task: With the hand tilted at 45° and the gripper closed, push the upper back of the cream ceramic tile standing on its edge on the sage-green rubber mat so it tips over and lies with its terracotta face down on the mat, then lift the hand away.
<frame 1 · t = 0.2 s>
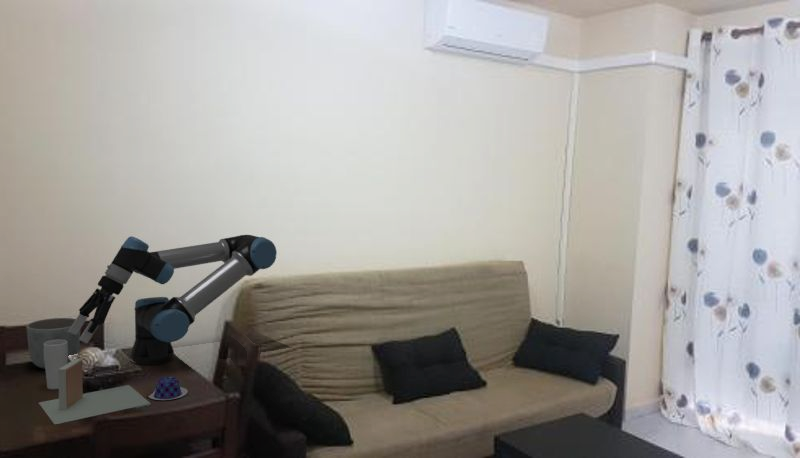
hand: (77, 337, 203), 16 cm above the table, tool tilted 35°, fingers open, 13 cm apart
planter: (55, 365, 223), on the table
rubber mat: (94, 404, 188), on the table
ceramic tile: (71, 403, 188), point 1 cm above the table, touching rubber mat
drinking glass: (56, 388, 201), on the table
pudding: (167, 395, 199), on the table
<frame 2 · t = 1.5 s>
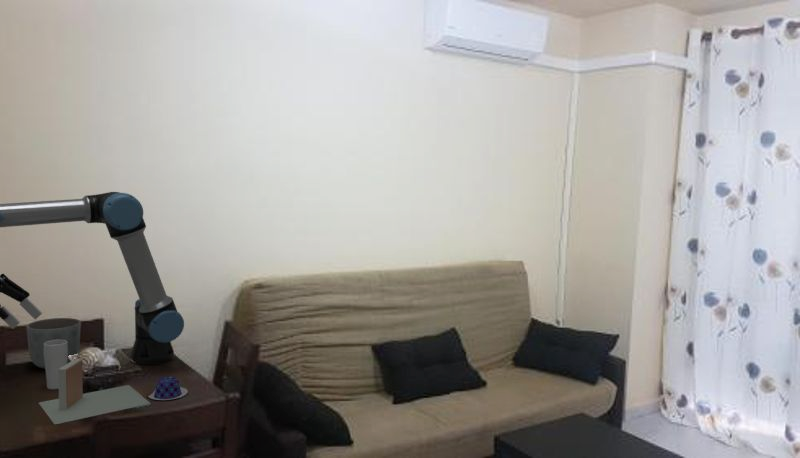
hand: (28, 320, 185), 25 cm above the table, tool tilted 45°, fingers open, 11 cm apart
nothing on the table moved.
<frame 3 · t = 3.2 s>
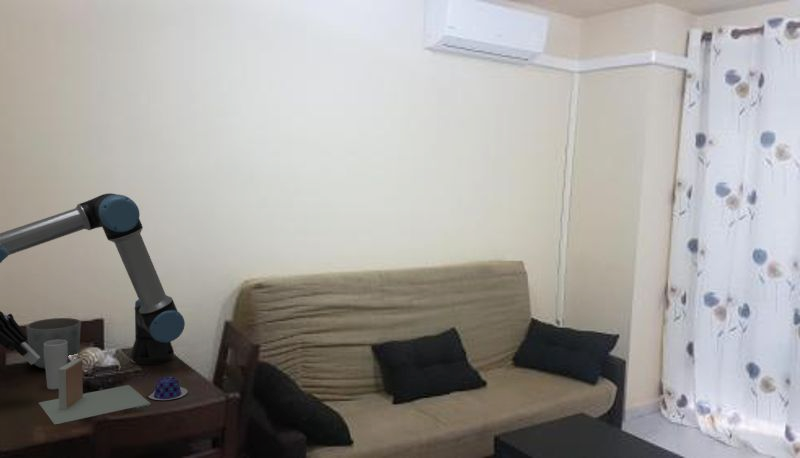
hand: (35, 360, 186), 13 cm above the table, tool tilted 45°, fingers closed
nothing on the table moved.
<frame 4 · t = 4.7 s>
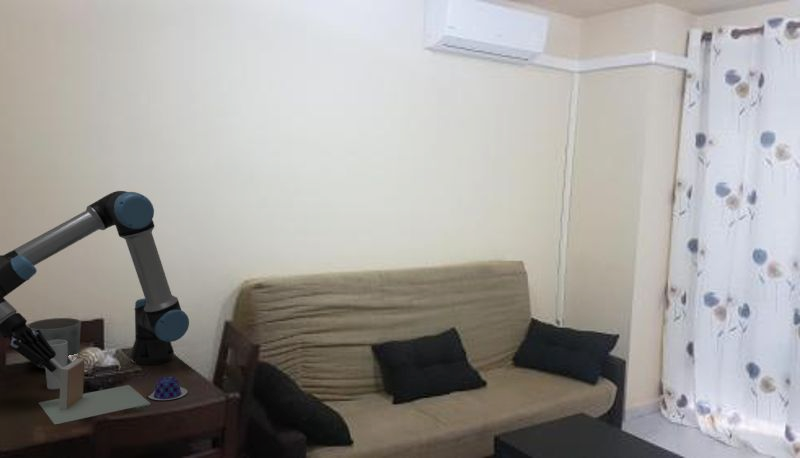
hand: (64, 376, 187), 9 cm above the table, tool tilted 45°, fingers closed
ceramic tile: (71, 402, 188), point 1 cm above the table, touching gripper, rubber mat
everything else where it was.
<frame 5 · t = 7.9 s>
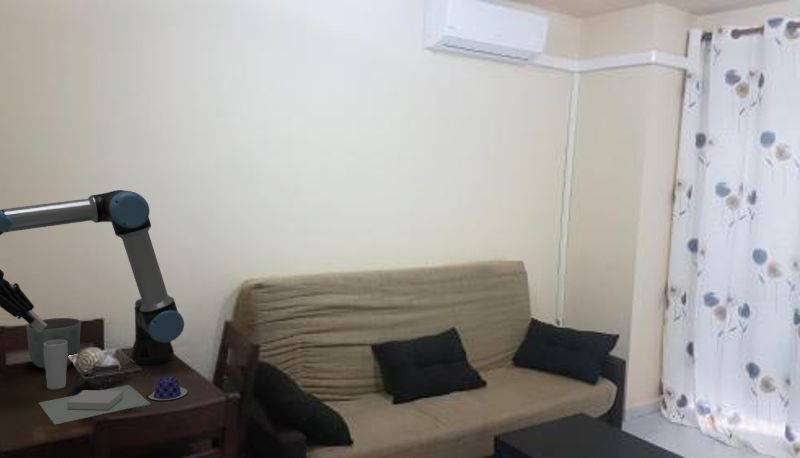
hand: (43, 328, 187), 23 cm above the table, tool tilted 45°, fingers closed
ceramic tile: (75, 399, 188), point 2 cm above the table, tilted 90°, touching rubber mat
everything else where it was.
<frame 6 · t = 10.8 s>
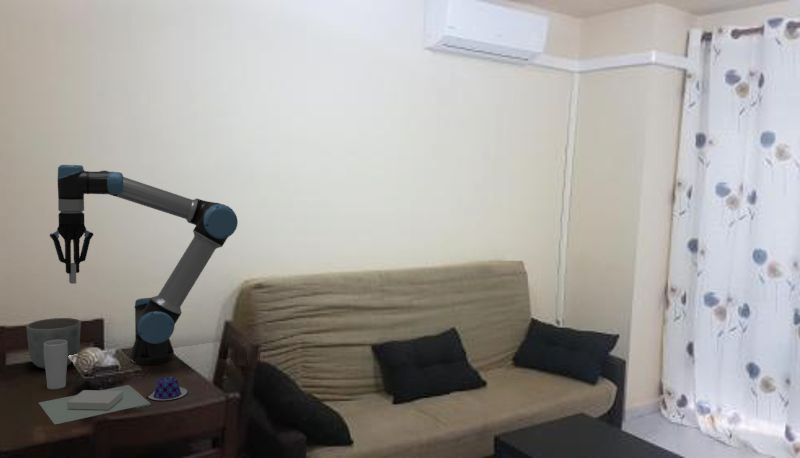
hand: (72, 282, 208), 32 cm above the table, tool pointing down, fingers closed
nothing on the table moved.
at the end: ceramic tile tilted 90°; ceramic tile inside the target area (0.2 cm from its centre), point 1.8 cm above the table; ceramic tile touching rubber mat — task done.
